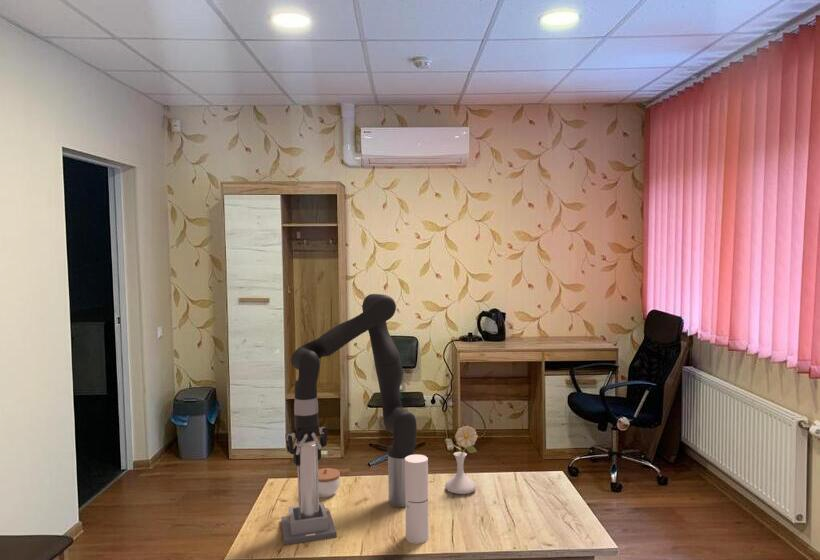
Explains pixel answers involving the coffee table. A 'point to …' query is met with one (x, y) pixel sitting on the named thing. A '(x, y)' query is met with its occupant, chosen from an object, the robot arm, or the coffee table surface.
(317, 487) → the silver metal cylinder
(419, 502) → the cylindrical container
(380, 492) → the coffee table surface
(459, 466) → the flower in vase
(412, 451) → the robot arm
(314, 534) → the socket
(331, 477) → the lidded jar
